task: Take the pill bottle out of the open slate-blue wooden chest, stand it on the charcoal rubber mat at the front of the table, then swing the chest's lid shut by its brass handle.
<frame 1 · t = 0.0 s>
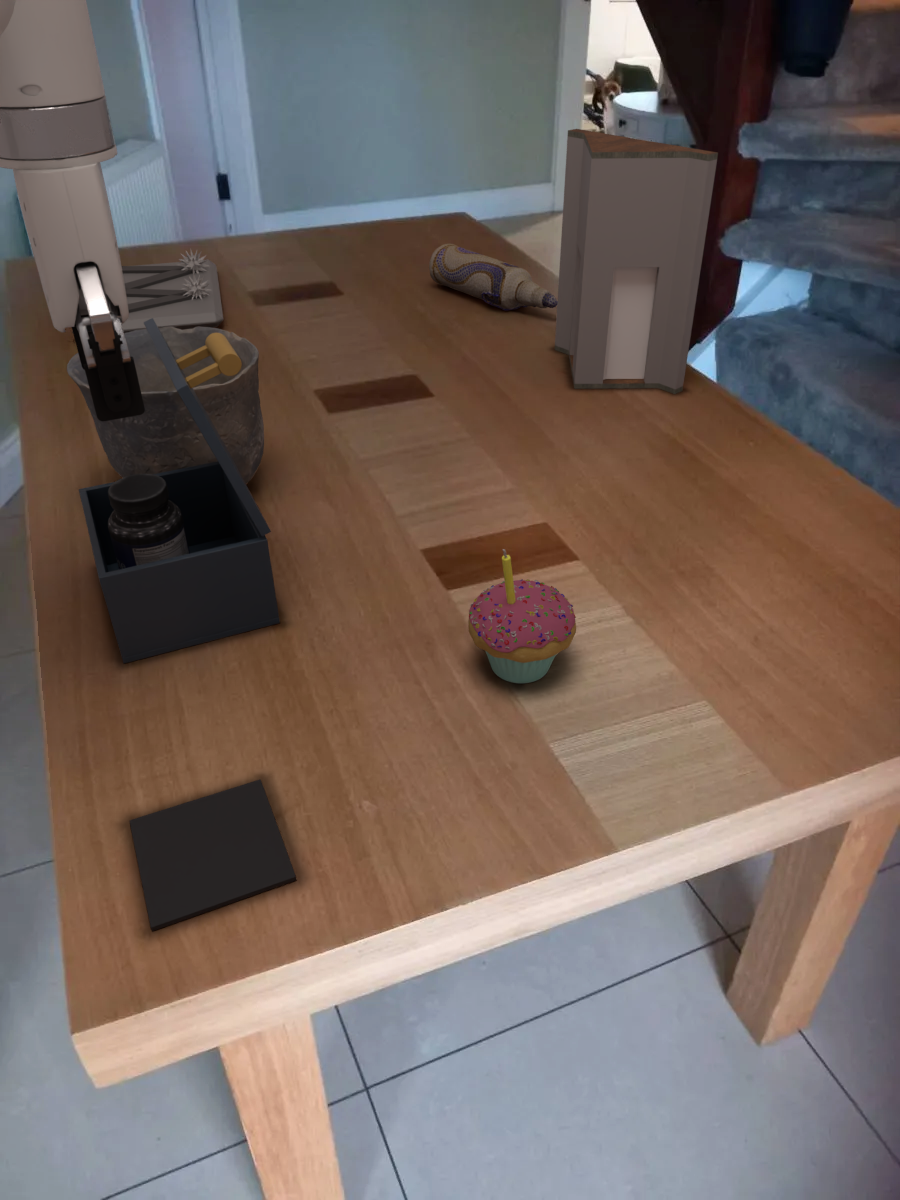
hand: (112, 390, 67), 21 cm above the table, tool pointing down, fingers open, 9 cm apart
cabinet: (595, 378, 122), on the table
cupcake: (519, 665, 75), on the table
mat: (210, 851, 60), on the table
pill bottle: (163, 596, 82), resting on chest
decorative bottle: (488, 303, 146), on the table
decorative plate: (152, 306, 147), on the table
bowl: (191, 492, 99), on the table
chest: (186, 594, 83), on the table
lid: (230, 413, 75), point 16 cm above the table, hinge at 72.0°
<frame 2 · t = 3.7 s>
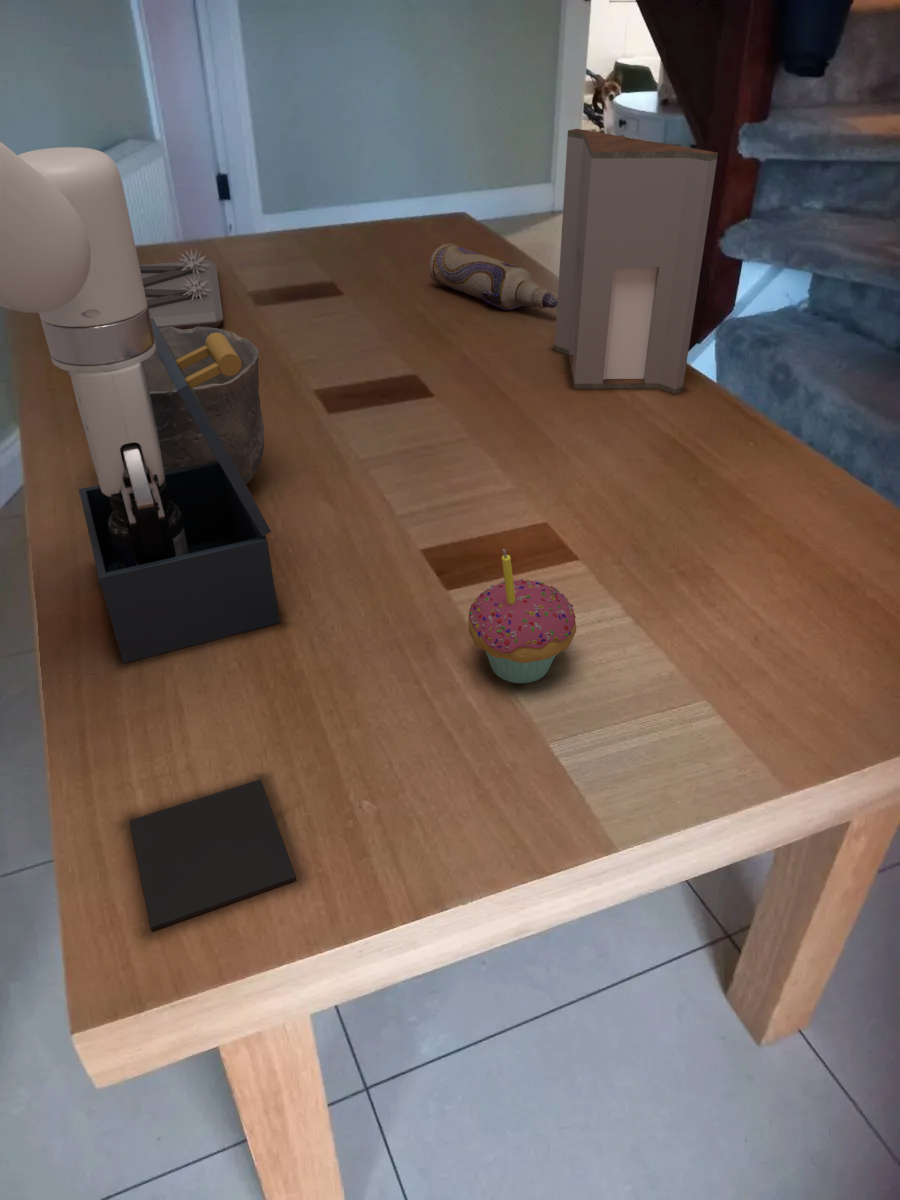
hand: (149, 537, 79), 7 cm above the table, tool pointing down, fingers closed on pill bottle, 6 cm apart
pill bottle: (163, 596, 82), resting on chest, touching gripper
everything else where it was.
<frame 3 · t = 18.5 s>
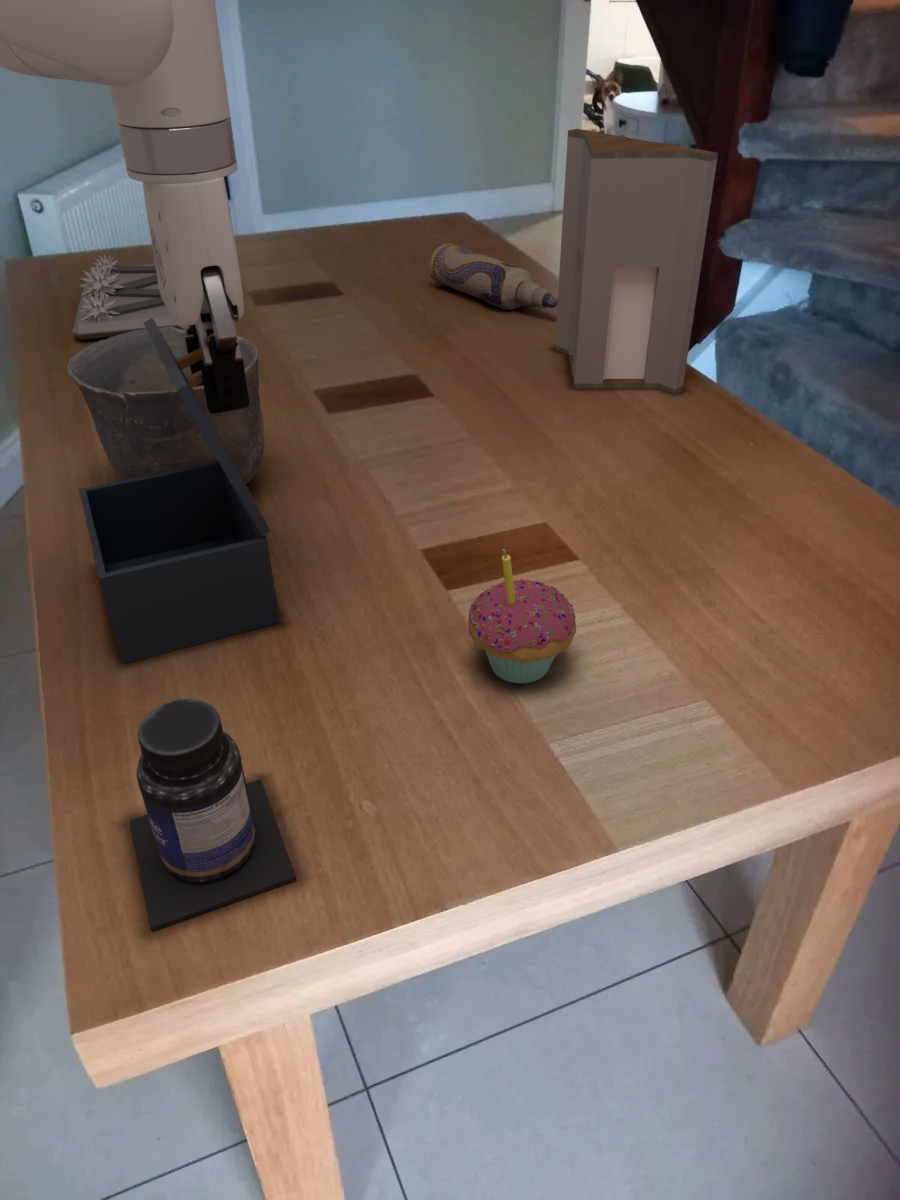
hand: (220, 393, 74), 18 cm above the table, tool pointing down, fingers closed on lid, 5 cm apart
pill bottle: (210, 849, 60), resting on mat
lid: (230, 413, 75), point 16 cm above the table, hinge at 72.0°, touching gripper
everything else where it was.
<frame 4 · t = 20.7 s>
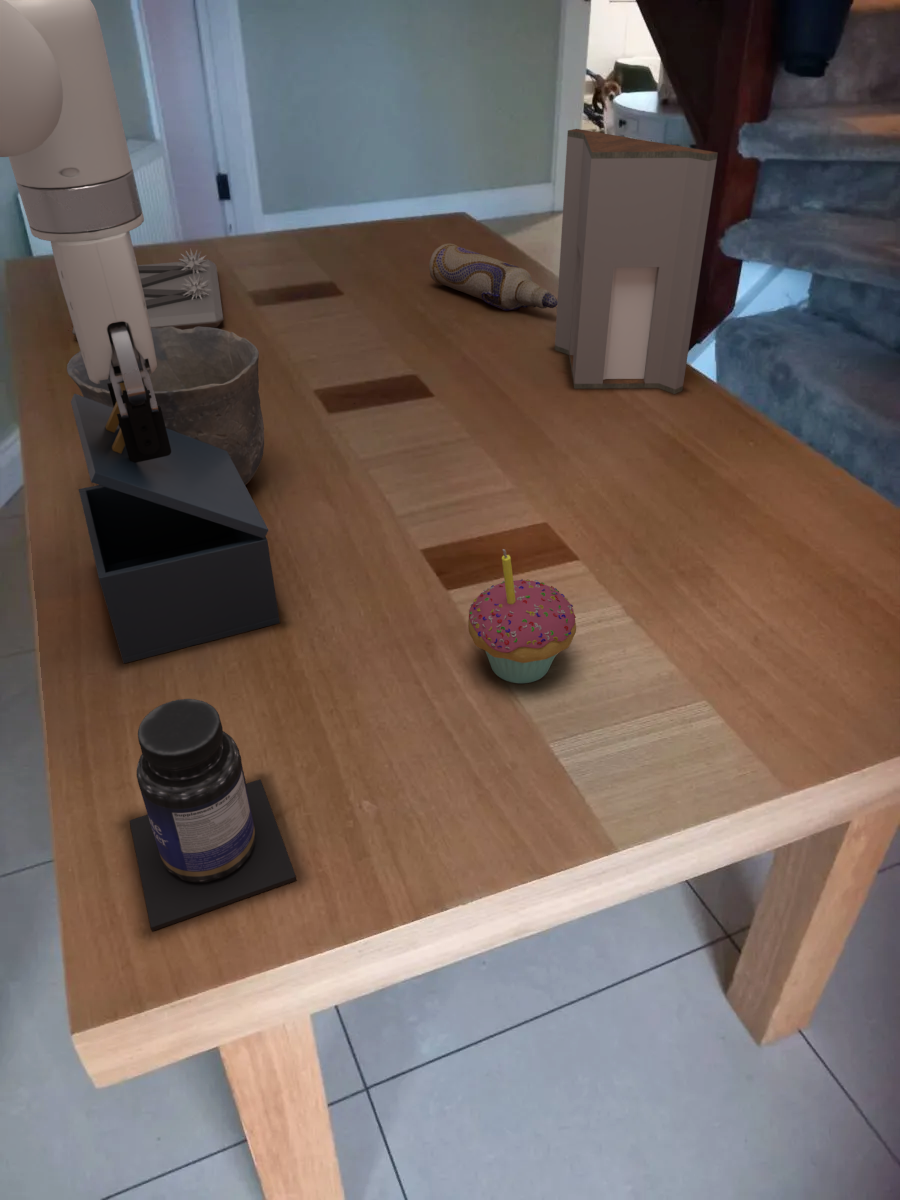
hand: (144, 439, 74), 16 cm above the table, tool pointing down, fingers closed on lid, 5 cm apart
lid: (178, 441, 75), point 15 cm above the table, hinge at 34.0°, touching gripper
everything else where it was.
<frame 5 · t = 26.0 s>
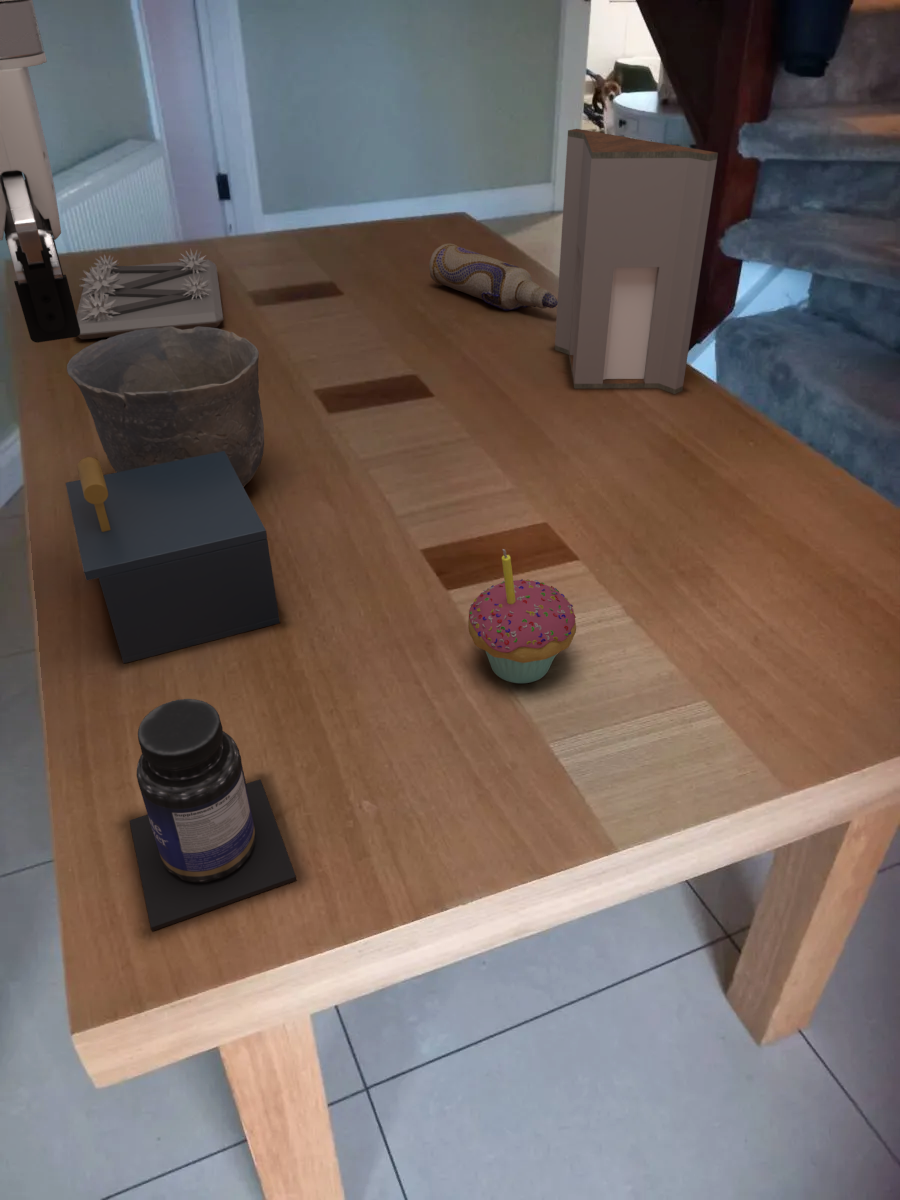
hand: (50, 315, 66), 26 cm above the table, tool pointing down, fingers open, 9 cm apart
lid: (156, 486, 76), point 11 cm above the table, hinge at -0.2°, touching chest
everything else where it was.
at the end: pill bottle 0.0 cm off-centre on the mat, point 0.2 cm above the mat's base; pill bottle tilted 0°; lid at +0° (first picture: +72°) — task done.
